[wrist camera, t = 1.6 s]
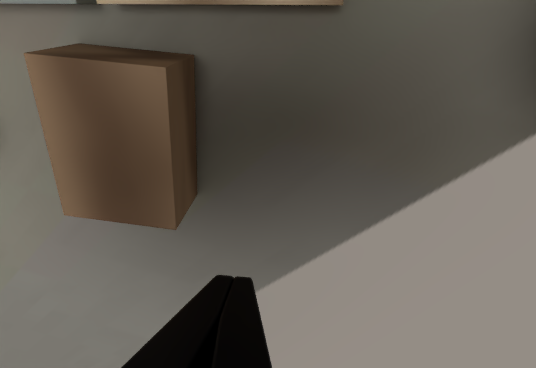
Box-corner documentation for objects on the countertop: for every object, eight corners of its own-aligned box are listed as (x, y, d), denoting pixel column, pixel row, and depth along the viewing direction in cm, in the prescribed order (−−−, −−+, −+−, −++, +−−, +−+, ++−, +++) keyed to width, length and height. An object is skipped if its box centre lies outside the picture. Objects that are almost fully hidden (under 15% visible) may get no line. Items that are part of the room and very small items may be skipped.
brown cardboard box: (195, 54, 17) (165, 67, 14) (198, 191, 21) (176, 229, 17) (81, 43, 18) (23, 53, 14) (104, 180, 21) (64, 215, 18)
